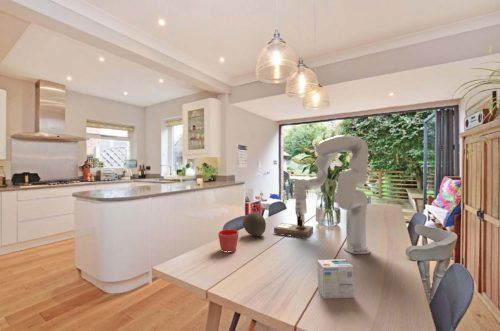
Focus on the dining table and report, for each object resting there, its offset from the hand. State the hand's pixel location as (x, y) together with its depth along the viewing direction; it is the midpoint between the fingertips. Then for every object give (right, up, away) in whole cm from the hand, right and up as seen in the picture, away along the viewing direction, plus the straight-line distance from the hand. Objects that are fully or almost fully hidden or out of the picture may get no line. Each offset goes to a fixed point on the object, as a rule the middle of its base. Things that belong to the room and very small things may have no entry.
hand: (300, 224), depth 151 cm
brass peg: (0, -6, 0) cm, 6 cm away
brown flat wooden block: (-4, -6, +2) cm, 8 cm away
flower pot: (-44, -7, -27) cm, 52 cm away
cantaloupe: (-30, -7, -3) cm, 31 cm away
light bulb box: (-3, -6, -70) cm, 71 cm away
